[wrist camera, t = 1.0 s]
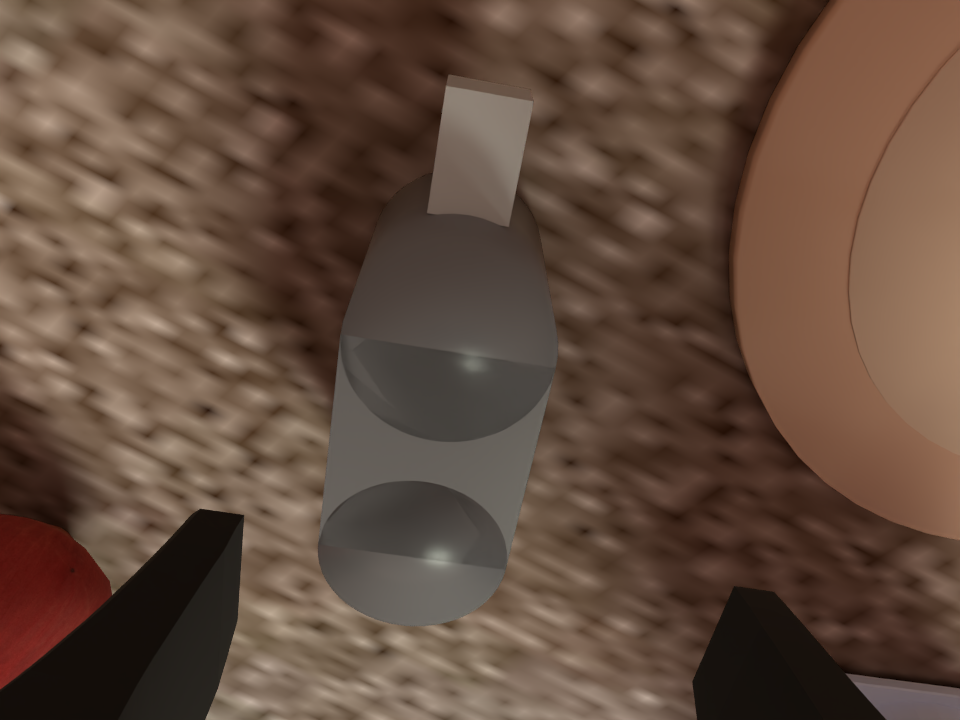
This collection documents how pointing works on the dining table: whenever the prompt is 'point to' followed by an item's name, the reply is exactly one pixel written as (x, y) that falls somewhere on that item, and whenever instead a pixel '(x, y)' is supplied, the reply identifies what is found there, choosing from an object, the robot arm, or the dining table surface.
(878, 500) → the plate
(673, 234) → the dining table surface
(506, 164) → the connector
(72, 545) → the onion
